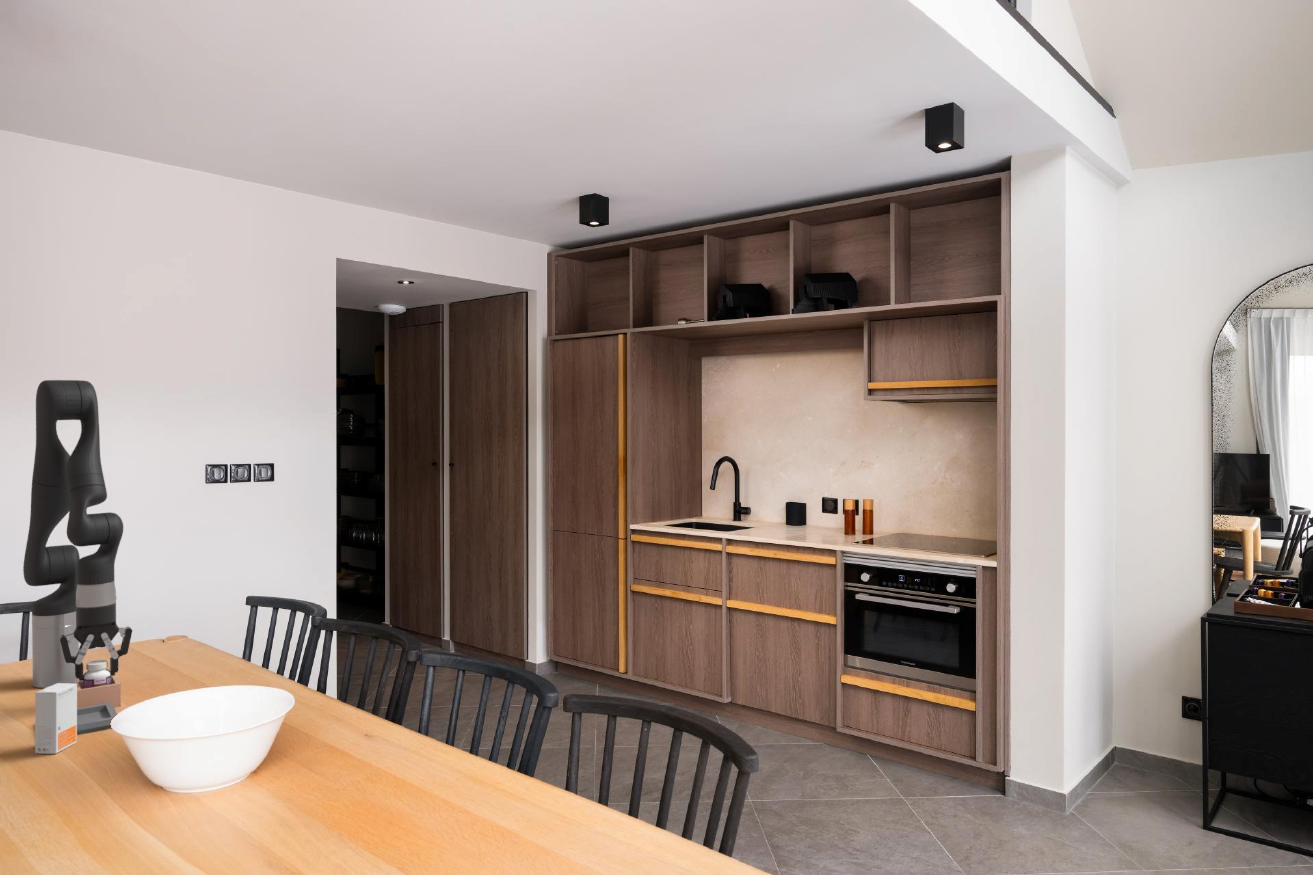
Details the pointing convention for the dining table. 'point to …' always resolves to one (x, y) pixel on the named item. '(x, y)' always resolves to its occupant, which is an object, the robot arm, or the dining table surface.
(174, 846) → the dining table surface
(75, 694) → the skincare box
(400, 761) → the dining table surface
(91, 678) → the pill bottle
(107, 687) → the open beige tray box
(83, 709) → the charcoal tray
